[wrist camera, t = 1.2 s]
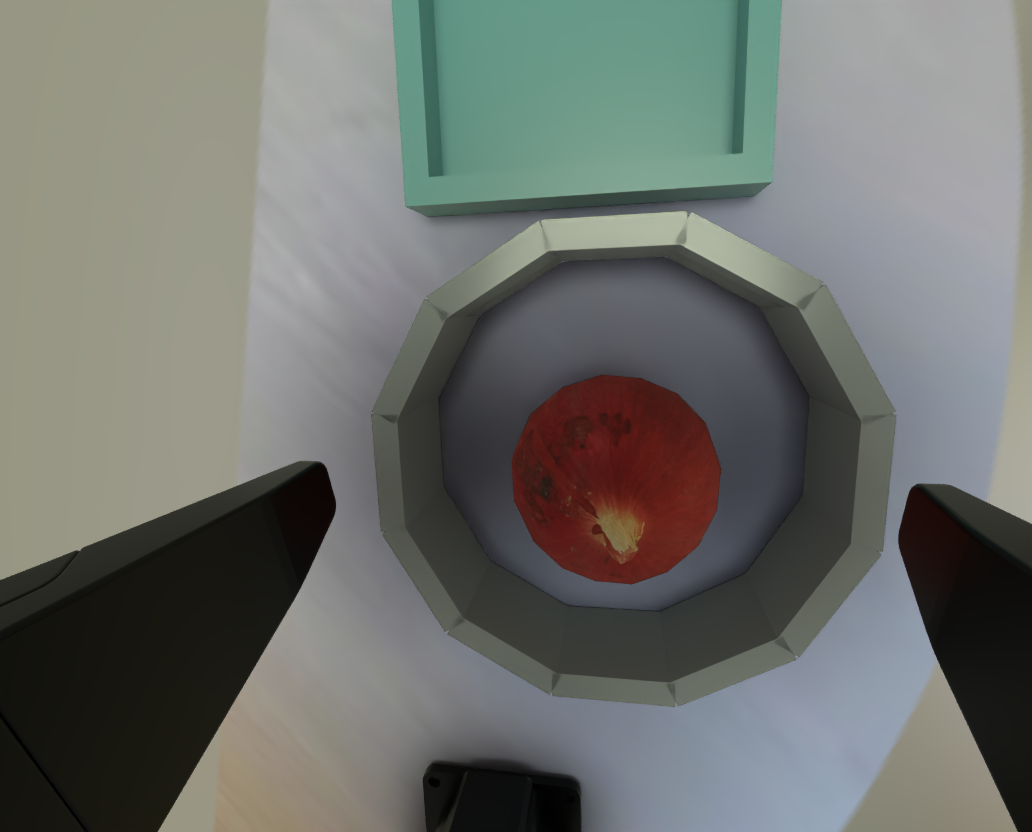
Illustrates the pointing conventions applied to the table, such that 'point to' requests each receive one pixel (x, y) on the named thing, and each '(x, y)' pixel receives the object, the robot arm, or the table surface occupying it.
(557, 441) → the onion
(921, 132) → the table surface
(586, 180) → the tray
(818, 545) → the ring
